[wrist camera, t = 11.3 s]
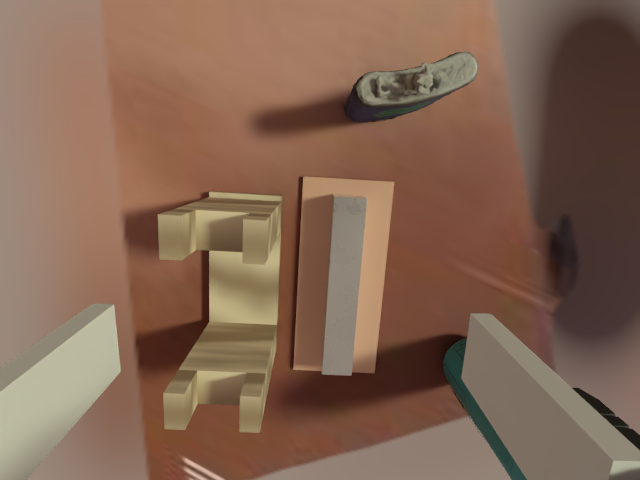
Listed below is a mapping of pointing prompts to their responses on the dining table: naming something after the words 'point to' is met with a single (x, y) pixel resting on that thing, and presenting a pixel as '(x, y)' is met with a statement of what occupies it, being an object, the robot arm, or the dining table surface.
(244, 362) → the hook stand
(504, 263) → the dining table surface
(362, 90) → the flask
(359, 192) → the mat
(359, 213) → the rail
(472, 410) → the beverage bottle
